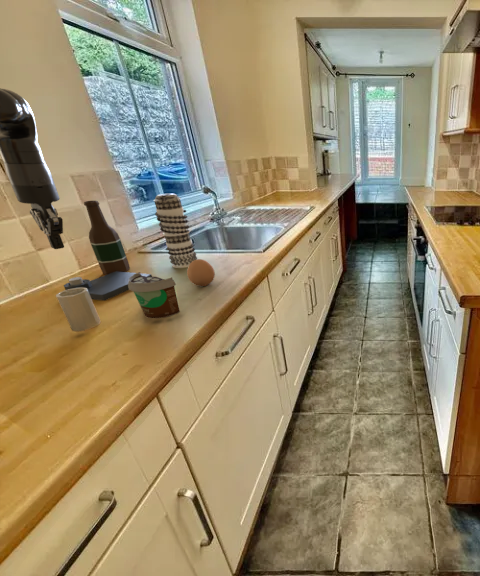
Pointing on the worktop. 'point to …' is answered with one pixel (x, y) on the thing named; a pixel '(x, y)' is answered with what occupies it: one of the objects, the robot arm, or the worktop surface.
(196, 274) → the egg
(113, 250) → the beer bottle
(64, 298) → the cup
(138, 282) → the food container
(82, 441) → the worktop surface
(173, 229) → the white patterned cylinder
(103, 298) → the scale
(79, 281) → the tare button
